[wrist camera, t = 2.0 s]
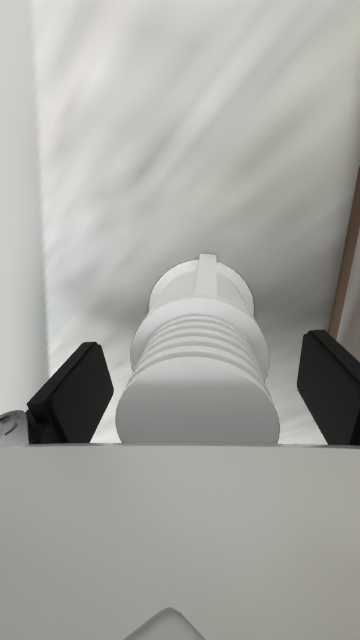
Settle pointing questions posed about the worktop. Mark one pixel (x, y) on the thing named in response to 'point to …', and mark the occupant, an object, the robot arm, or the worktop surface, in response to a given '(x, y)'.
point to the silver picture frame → (349, 287)
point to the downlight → (198, 363)
